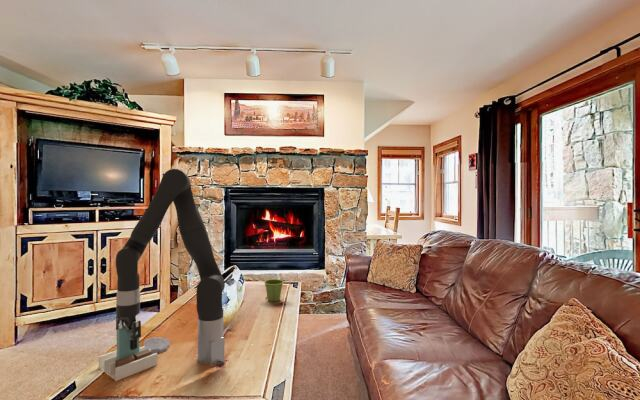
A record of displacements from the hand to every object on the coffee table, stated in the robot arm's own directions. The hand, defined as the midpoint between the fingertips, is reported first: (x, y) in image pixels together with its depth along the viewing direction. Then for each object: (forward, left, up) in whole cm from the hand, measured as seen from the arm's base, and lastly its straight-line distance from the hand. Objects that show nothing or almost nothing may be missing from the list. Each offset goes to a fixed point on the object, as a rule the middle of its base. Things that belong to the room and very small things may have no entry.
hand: (128, 345), depth 124 cm
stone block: (+6, -14, -9) cm, 18 cm away
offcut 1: (-5, +3, -7) cm, 9 cm away
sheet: (0, 0, -7) cm, 7 cm away
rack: (0, 0, -9) cm, 9 cm away
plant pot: (+17, -92, -9) cm, 94 cm away
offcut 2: (-5, -3, -7) cm, 9 cm away
